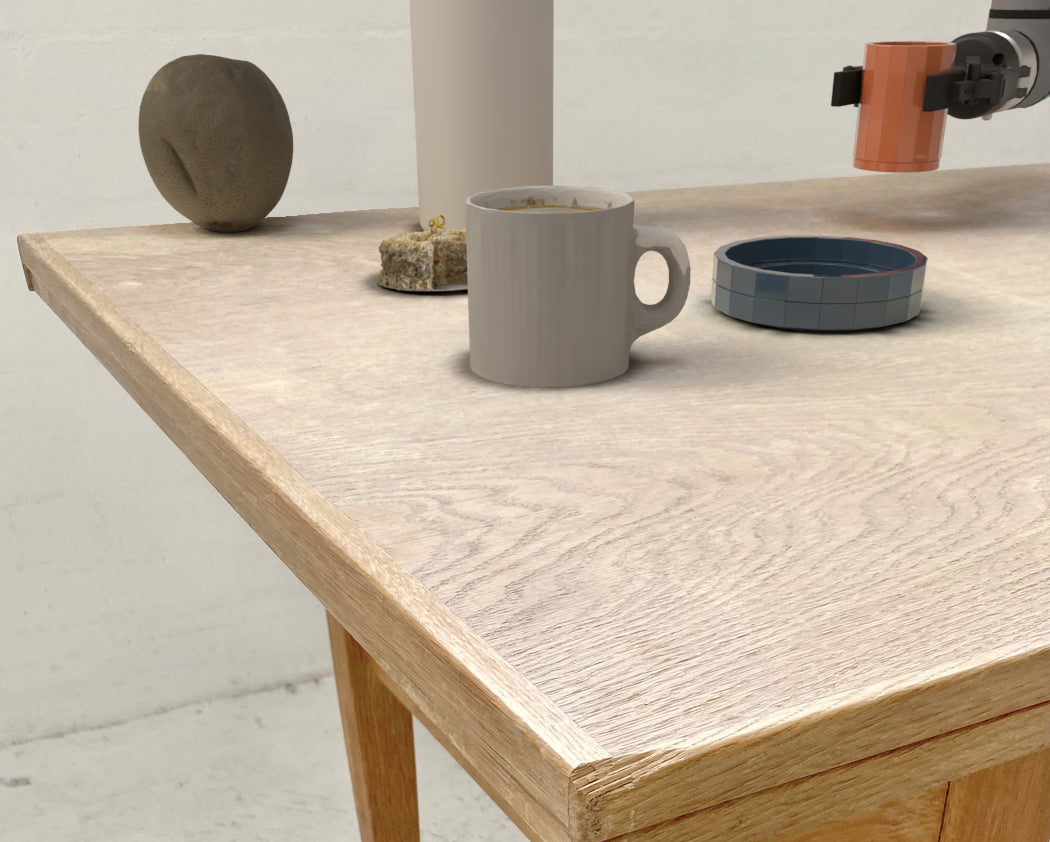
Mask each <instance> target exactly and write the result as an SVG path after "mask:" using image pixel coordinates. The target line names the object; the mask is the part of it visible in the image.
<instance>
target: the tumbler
mask: <svg viewBox="0 0 1050 842" xmlns="http://www.w3.org/2000/svg"><path fill="white" fill-rule="evenodd" d="M950 42H951V41H932V40H931V41H930V40H929V41H927V40H922V41H921V40H904V41H902V40H895V41H893V40H892V41H889V40H887V41H873V42H872V41H870V42H865V43H864V51H863V60H862V66H863V68H862V78H861V87H860V96H859V105H858V107H857V117H856V125H855V136H854V144H853V152H852V156H853V158H852V159H853V160H852V167H853V168H855V169H857V170H861V171H867V172H868V171H869V172H877V173H891V174H892V173H894V174H895V173H897V174H898V173H900V174H909V173H910V174H911V173H913V174H914V173H926V172H932V171H937V170H938V169H939V168H940V163H941V159H942V155H943V147H944V142H945V141H944V140H945V133H946V125H947V119H948V114H947V112H948V108H947V109H942V110H937V111H933V112H924V111H922V109H923V101H924V94H925V86H926V78H927V76H930V75H937V74H943V73H949V72H953V69H954V62H955V55H956V48H957V44H956V43H950Z"/></svg>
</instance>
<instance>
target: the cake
mask: <svg viewBox="0 0 1050 842" xmlns="http://www.w3.org/2000/svg"><path fill="white" fill-rule="evenodd" d="M439 216H440V217H441V218H442V220H443V221H442V224H439V220H438V218H439ZM439 216H437V217H436V218H434V219H431V220H429V223H428V224H429V227H431V230H430V231H424V230H422V231H414V232H406V233H397V234H396V235H391V237H390V238H389V239H388V240H384V239H383V240H382V241H381V243H380V245H379V246H378V253H380V260H381V264H380V266H381V268H382V269H381V270H380V271H379V276H378V279H377V280H376V284H377V285H378V286H379V287H384V288H388V289H392V290H393V289H394V290H396V291H405V292H434V293H447V292H459V291H468V287H465V288H449V289H435V286H436V287H437V286H446V285H448V284H463V285H464V284H465V285H466V284H467V285H468V277H467V243H466V229H462V230H454V229H452V230H446V225H445V222H446V221H445V217H444V216H443V215H439ZM431 222H433V224H432V225H431V224H430V223H431Z"/></svg>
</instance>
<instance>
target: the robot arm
mask: <svg viewBox="0 0 1050 842" xmlns="http://www.w3.org/2000/svg"><path fill="white" fill-rule="evenodd" d="M986 23H987V24H986V27H985V30H983V31H977V32H970V33H965V34H961V35H959V36H958V37H955V38H954V39H953V40H951V41H949V42H950V43H956V44H957V48H956V55H955V62H954V69H953V72H949V73H943V74H937V75H930V76H927V78H926V86H925V94H924V101H923V109H922V111H924V112H933V111H937V110H942V109H947V108H948V112H947V116H950V117H952V118H954V119H959V120H974V119H977V118H981V119H982V120H983V121H984V122H985V121H990V120H992V118H993V114H996V113H1001V112H1006V111H1009V110H1015V109H1027V108H1031V107H1034V106H1035V105H1037V104H1039V103H1041V102H1043V101H1045V100H1047V99H1048V98H1049V97H1050V0H991V3H990V8H989V10H988V17H987V22H986ZM862 68H863V65H847V66H844V67H842V71H841V70H840V71H835V72H833V81H832V90H831V100H830V107H834V108H835V107H836V108H839V107H845V106H850V105H853V107H854V108H858V105H859V96H860V87H861V78H862Z"/></svg>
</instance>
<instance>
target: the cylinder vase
mask: <svg viewBox="0 0 1050 842" xmlns="http://www.w3.org/2000/svg"><path fill="white" fill-rule="evenodd" d="M554 1H555V0H409V1H408V2H409V20H410V21H409V23H410V42H411V43H410V45H411V65H412V67H411V68H412V87H413V88H412V89H413V108H414V128H415V129H414V131H415V149H416V150H415V151H416V152H415V153H416V169H417V170H416V173H417V174H416V175H417V194H418V195H417V196H418V214H419V215H418V216H419V218H418V219H419V226H420V227H421V229H422V231H430V230H431V227H429V224H428V223H429V220H431V219H434V218H436V217H437V216H439V215H443V216H444V217H445V221H446V222H445V225H446V230H452V229H454V230H462V229H466V199H467V198H468V197H469V196H471V195H474V194H476V193H479V192H483V191H489V190H495V189H502V188H512V187H525V186H554V40H555V39H554V37H555V36H554V34H555V33H554V32H555V31H554V29H555V28H554V23H555V22H554V21H555V20H554V17H555V15H554V12H555V10H554V7H555V6H554V5H555V3H554ZM438 220H439V224H442V221H443V220H442V218H441V217H440V216H439V218H438ZM430 224H431V225H432V224H433V222H431V223H430Z"/></svg>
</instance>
